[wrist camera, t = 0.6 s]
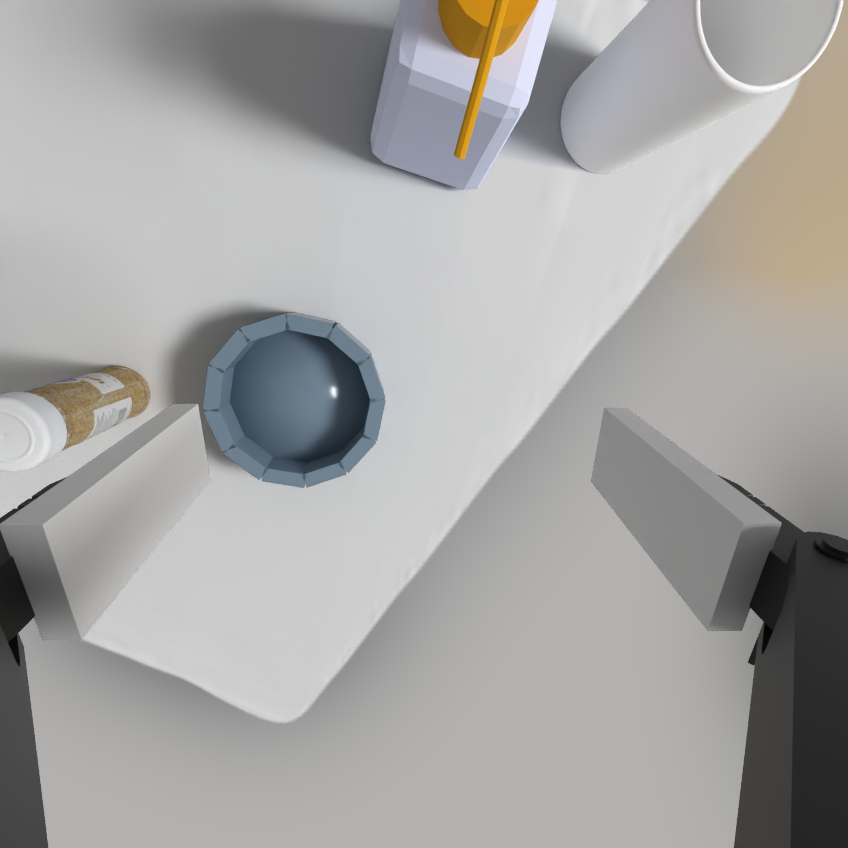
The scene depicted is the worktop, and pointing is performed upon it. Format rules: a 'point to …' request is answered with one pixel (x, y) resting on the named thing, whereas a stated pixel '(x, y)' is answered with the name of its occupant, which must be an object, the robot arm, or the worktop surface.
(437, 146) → the soap bottle
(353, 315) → the worktop surface
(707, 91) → the cup
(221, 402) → the bowl
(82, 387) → the sprinkles bottle
